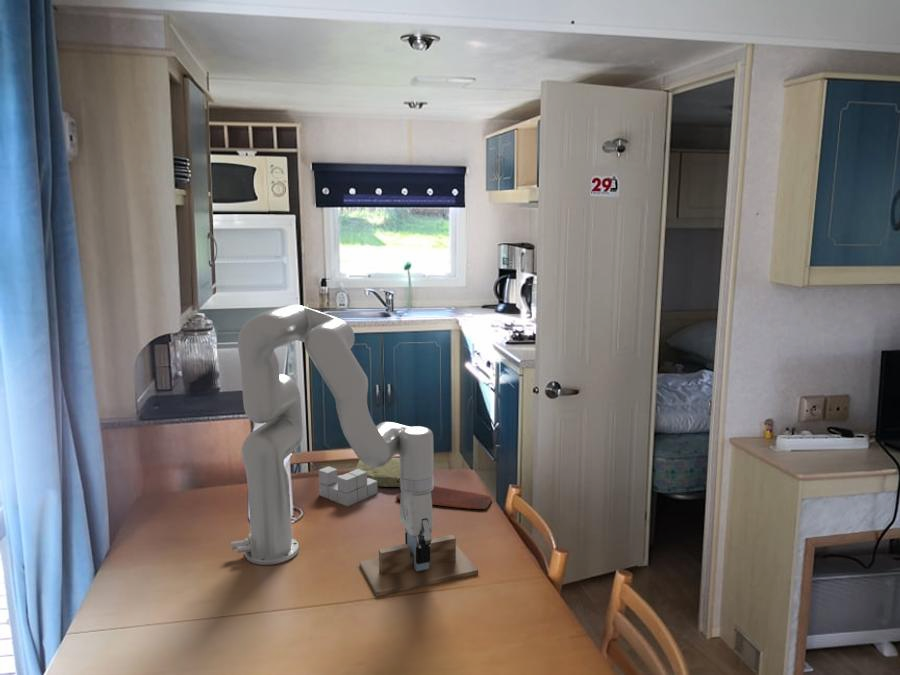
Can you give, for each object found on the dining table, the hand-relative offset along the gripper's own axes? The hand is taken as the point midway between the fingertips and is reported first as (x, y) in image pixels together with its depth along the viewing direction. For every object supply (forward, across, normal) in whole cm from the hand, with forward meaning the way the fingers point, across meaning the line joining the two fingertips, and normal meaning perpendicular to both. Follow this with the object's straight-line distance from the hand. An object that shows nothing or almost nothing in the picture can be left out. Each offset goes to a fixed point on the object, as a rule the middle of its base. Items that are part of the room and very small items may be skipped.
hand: (417, 554), depth 157 cm
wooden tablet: (+4, -33, +20) cm, 38 cm away
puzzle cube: (+4, -48, -4) cm, 48 cm away
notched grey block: (+2, 0, 0) cm, 2 cm away
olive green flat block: (+4, -55, +10) cm, 56 cm away
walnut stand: (+4, 0, 0) cm, 4 cm away
